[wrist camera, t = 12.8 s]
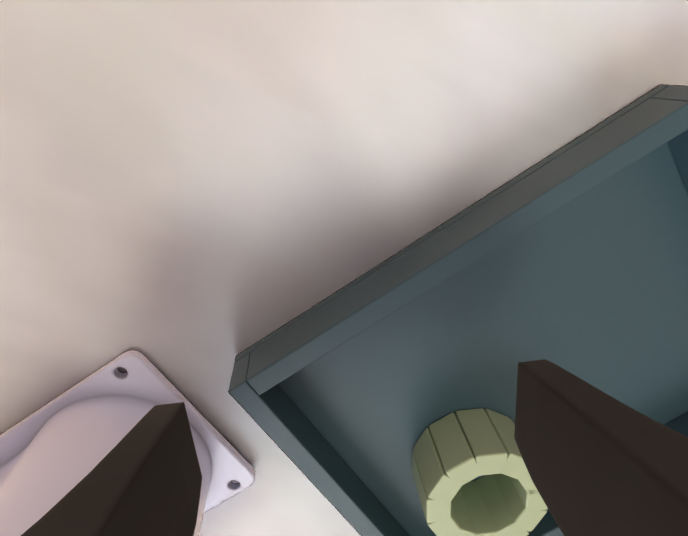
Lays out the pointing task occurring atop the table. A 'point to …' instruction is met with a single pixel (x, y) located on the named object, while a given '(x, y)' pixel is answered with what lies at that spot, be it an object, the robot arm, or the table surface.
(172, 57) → the table surface
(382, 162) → the table surface
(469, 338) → the dark teal tray
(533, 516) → the sage ring
